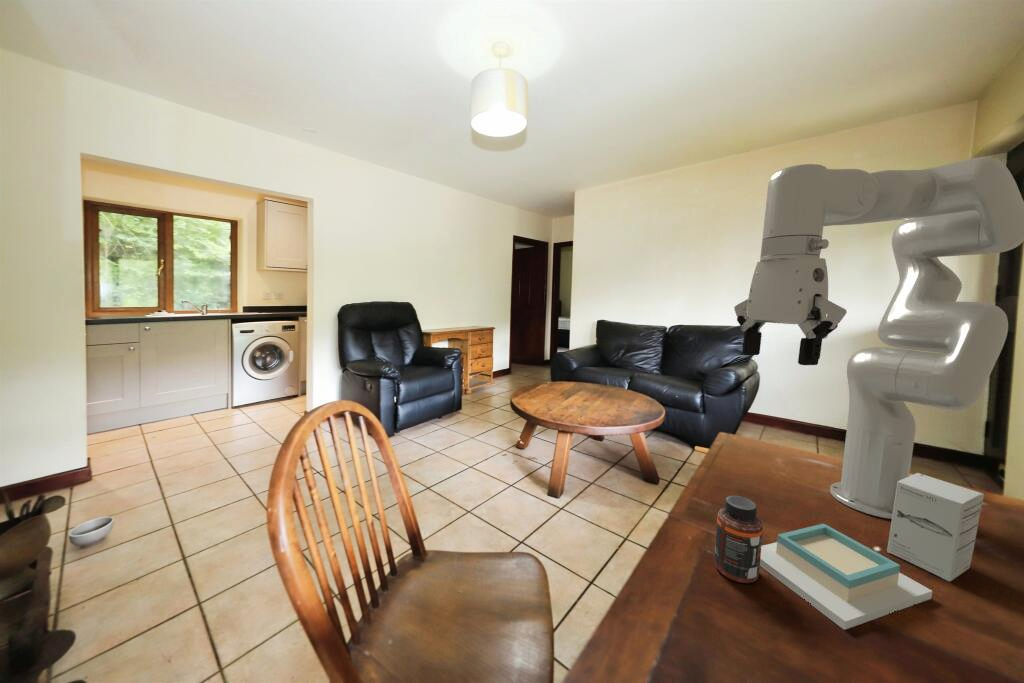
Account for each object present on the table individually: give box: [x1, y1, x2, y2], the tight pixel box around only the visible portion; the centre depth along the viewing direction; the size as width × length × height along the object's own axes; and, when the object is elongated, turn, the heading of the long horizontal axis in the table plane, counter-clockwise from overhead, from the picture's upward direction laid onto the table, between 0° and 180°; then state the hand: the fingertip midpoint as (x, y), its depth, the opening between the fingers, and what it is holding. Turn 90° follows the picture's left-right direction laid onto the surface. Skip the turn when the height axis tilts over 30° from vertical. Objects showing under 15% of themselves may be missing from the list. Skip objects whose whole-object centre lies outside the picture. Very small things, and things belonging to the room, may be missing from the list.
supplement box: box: [886, 472, 985, 583], centre depth 59 cm, size 7×7×13 cm
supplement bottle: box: [713, 495, 764, 584], centre depth 57 cm, size 6×6×11 cm
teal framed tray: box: [760, 523, 933, 631], centre depth 56 cm, size 17×14×4 cm
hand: (777, 359), depth 60 cm, fingers open, 9 cm apart
